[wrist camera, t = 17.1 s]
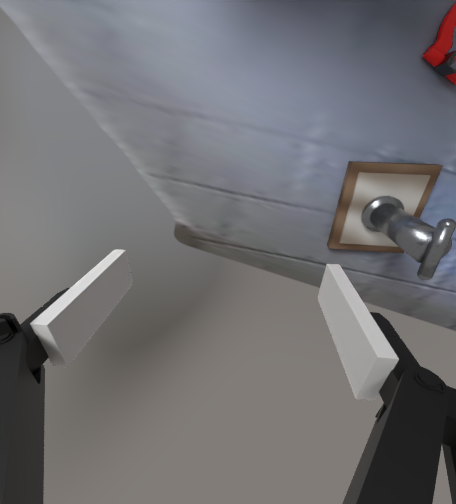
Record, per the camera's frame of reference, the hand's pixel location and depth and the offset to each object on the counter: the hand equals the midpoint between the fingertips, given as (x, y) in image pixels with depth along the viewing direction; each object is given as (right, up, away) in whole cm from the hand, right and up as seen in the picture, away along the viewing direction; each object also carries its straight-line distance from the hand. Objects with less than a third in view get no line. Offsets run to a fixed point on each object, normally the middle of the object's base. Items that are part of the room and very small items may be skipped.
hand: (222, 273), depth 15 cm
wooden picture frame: (+28, +9, +27) cm, 40 cm away
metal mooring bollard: (+27, +8, +25) cm, 38 cm away
